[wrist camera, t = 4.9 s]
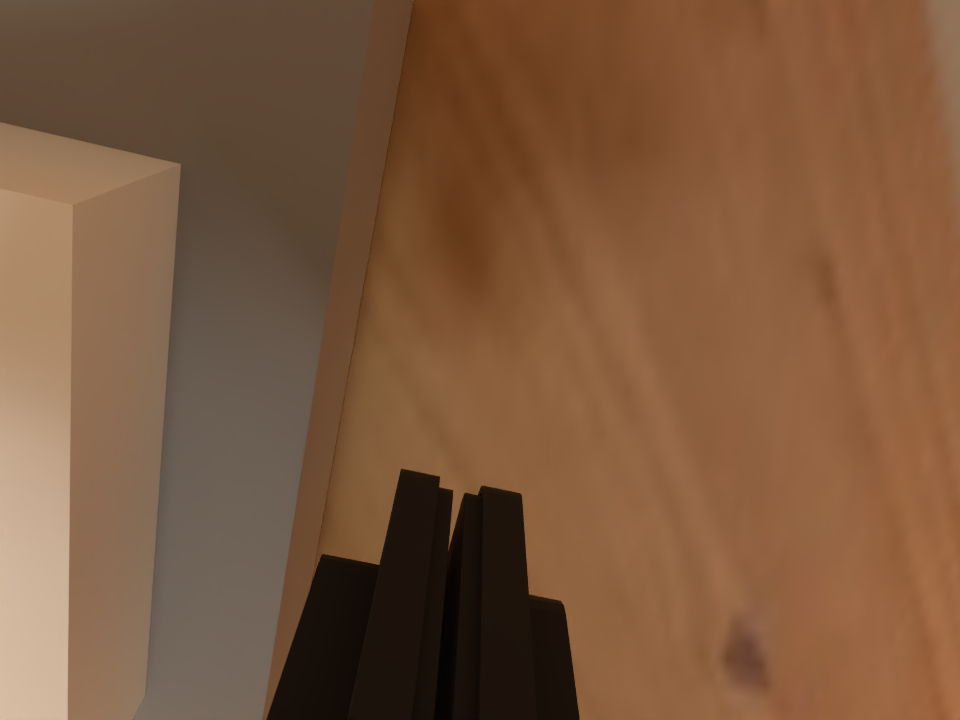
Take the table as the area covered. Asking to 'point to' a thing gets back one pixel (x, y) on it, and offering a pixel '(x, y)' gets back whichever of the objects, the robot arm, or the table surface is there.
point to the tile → (80, 419)
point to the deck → (233, 286)
